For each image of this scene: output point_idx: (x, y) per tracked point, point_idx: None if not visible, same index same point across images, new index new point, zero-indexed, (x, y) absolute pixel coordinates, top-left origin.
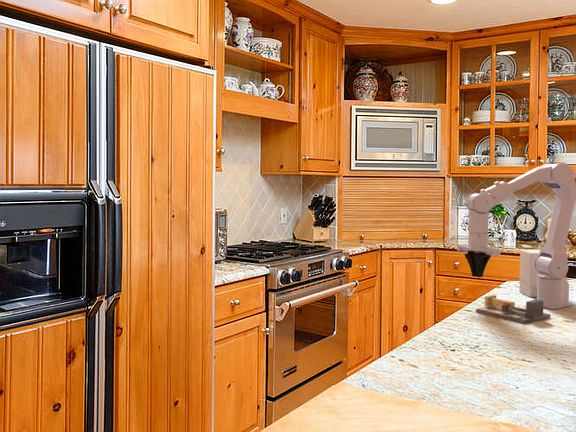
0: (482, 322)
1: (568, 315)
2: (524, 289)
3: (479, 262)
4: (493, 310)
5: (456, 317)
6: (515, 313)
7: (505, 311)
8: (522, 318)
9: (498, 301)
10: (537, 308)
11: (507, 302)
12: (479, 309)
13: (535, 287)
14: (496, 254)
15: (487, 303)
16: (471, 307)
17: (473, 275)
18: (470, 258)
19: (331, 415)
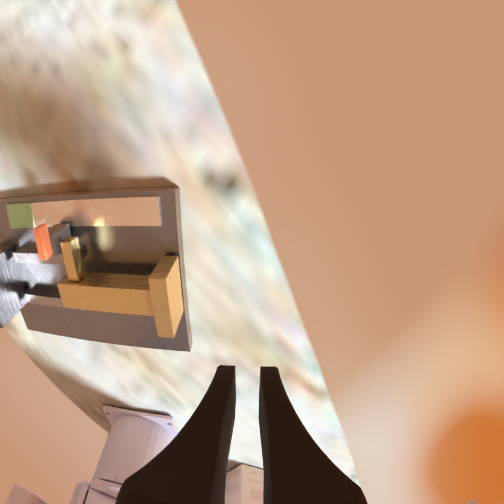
0: (59, 80)
1: (49, 375)
2: None
3: (163, 451)
4: (107, 222)
5: (164, 36)
6: None
7: (53, 225)
8: (6, 218)
9: (111, 284)
10: None
11: (69, 283)
12: (157, 194)
13: (232, 489)
14: (12, 495)
15: (159, 262)
16: (256, 247)
17: (262, 370)
18: (276, 480)
19: None
